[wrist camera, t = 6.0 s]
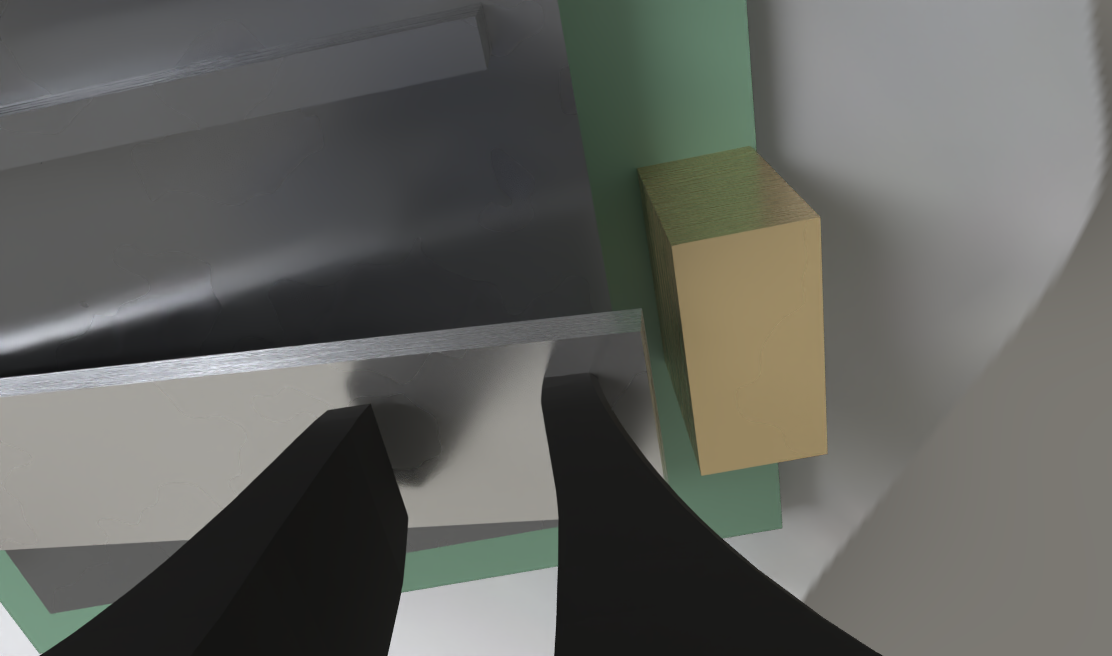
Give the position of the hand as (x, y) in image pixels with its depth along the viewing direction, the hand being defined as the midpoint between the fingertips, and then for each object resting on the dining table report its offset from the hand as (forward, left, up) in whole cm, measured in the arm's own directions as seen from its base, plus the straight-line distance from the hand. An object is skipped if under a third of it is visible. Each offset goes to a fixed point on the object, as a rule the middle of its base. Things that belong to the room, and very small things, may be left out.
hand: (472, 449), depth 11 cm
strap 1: (-3, 0, -1) cm, 4 cm away
